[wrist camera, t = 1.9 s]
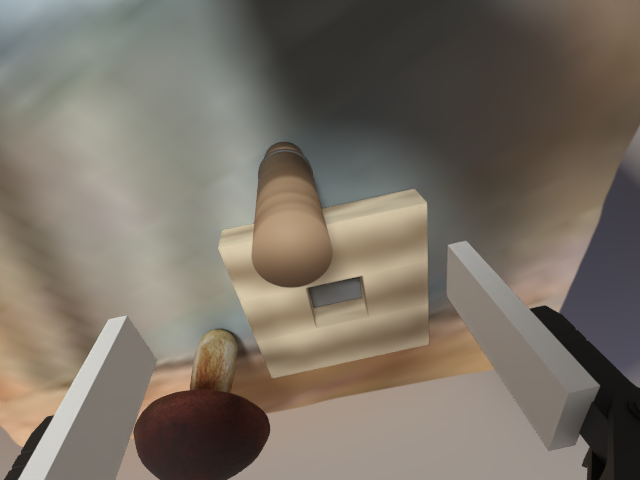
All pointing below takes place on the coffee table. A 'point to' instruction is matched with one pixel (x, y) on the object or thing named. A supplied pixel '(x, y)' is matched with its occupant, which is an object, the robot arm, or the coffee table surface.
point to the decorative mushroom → (203, 421)
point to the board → (347, 262)
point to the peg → (289, 221)
